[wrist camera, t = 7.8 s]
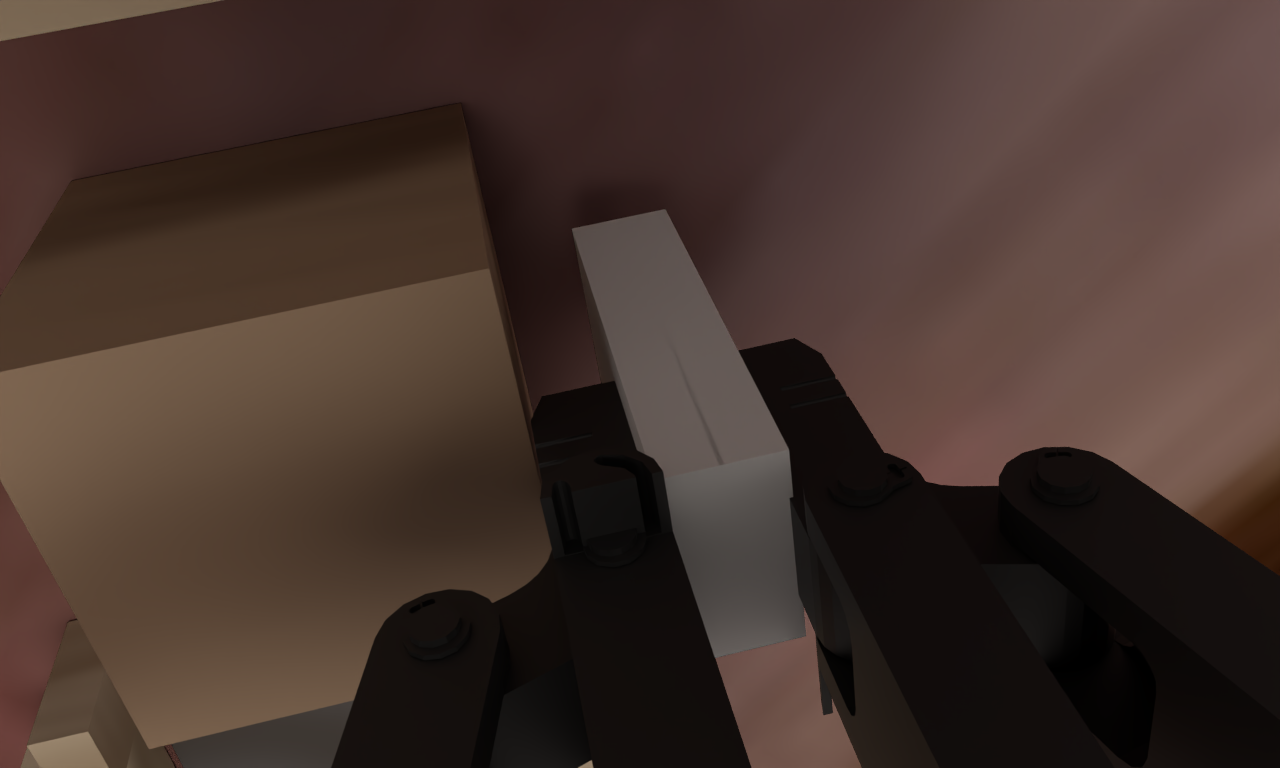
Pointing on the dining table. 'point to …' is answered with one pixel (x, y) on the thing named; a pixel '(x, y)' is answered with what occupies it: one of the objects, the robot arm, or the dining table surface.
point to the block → (268, 414)
